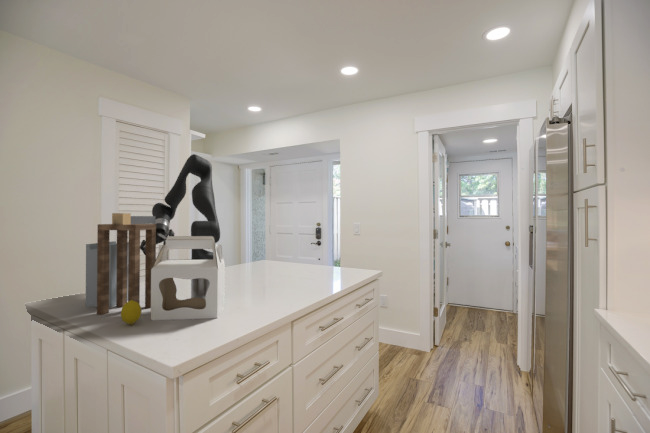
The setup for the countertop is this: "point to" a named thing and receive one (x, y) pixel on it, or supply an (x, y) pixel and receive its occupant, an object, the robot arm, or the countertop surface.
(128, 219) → the bar
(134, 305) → the lemon
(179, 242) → the gable box
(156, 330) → the countertop surface
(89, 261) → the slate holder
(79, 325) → the countertop surface
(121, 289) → the walnut stand
